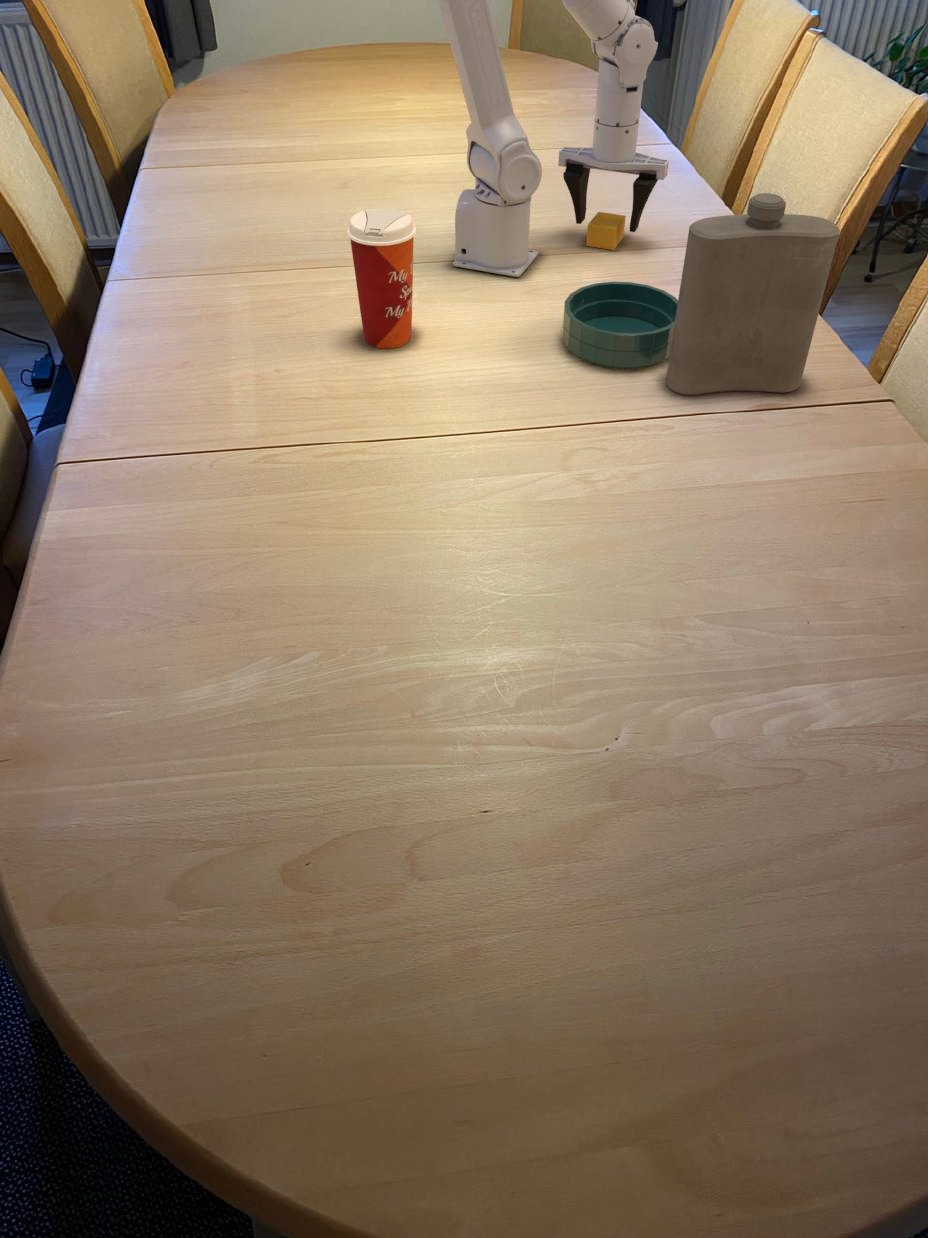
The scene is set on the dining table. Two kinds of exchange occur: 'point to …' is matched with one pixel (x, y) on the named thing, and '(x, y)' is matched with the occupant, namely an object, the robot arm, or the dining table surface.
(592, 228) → the yellow block
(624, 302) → the bowl
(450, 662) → the dining table surface
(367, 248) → the paper cup
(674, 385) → the flask
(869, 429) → the dining table surface
